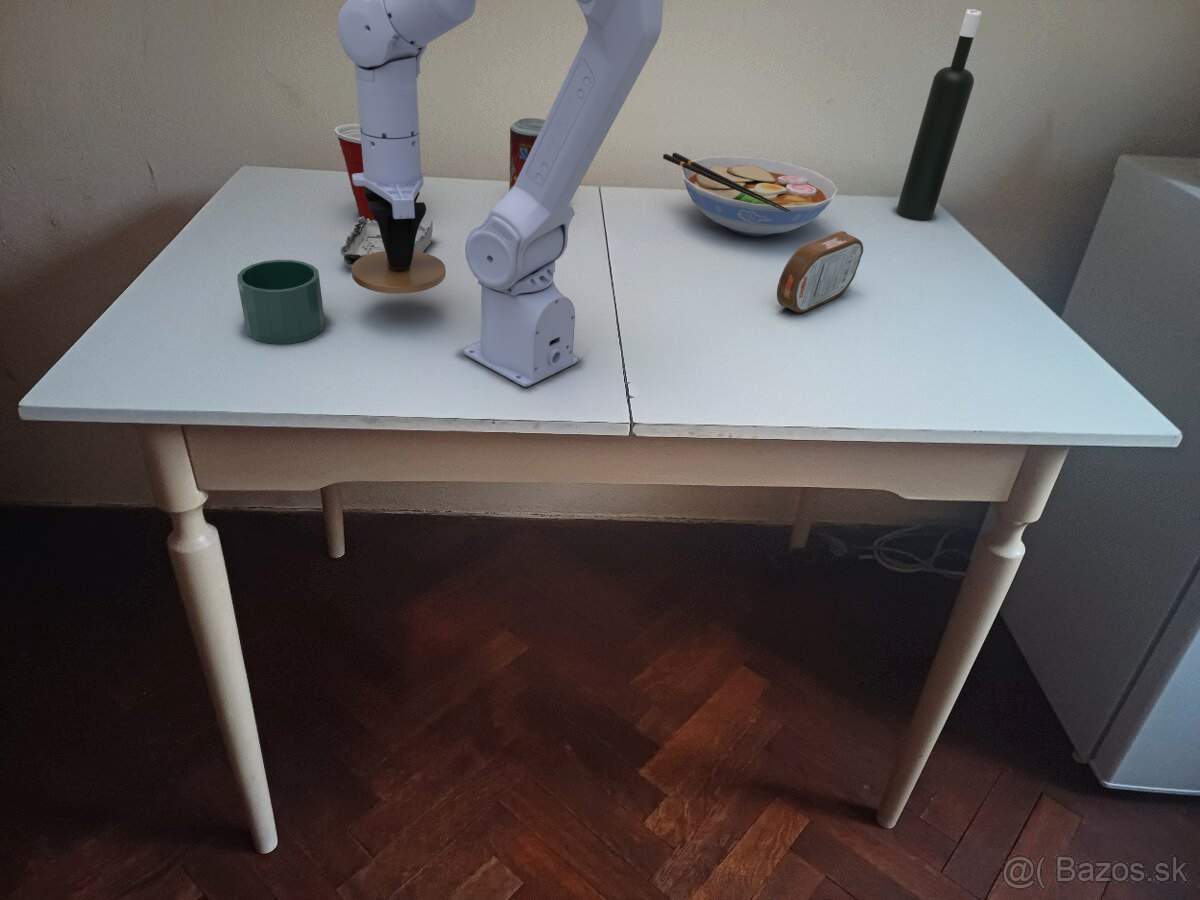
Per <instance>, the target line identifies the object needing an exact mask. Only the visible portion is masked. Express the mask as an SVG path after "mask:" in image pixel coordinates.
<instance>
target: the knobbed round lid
mask: <svg viewBox="0 0 1200 900" xmlns="http://www.w3.org/2000/svg"><path fill="white" fill-rule="evenodd" d="M350 269H351V268H350ZM446 269H447V268H446V265H445V263H444V262H443V261H442V260H441V259H440V258H438V257H437V256H435V255H432V254H430V253H426V252H424V251H423V252H418V251H414V252H413V257H412V262H411V266H410V267H395V268H392V267H391V265H390V263H389V260H388V257H387V254H386V251H380V252H375V253H371V254H368V255H366V256H363V257H361V258H359V259H358V260H357V261H355V262H354V264H353V265H352V269H351V277H352V279H353V281H354V282H355V283H356V284H357V285H359V287H362V288H364V289H366V290H369V291H371V292H372V291H373V292H377V293H383V294H392V295H393V294H394V295H395V294H396V295H397V294H398V295H400V294H401V295H403V294H413V293H419V292H424V291H427V290H431V289H433V288H435V287H437V286H439V285H440V284H441V283H443V281H444V280H445V278H446V275H447V273H446V271H447V270H446Z"/></svg>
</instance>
